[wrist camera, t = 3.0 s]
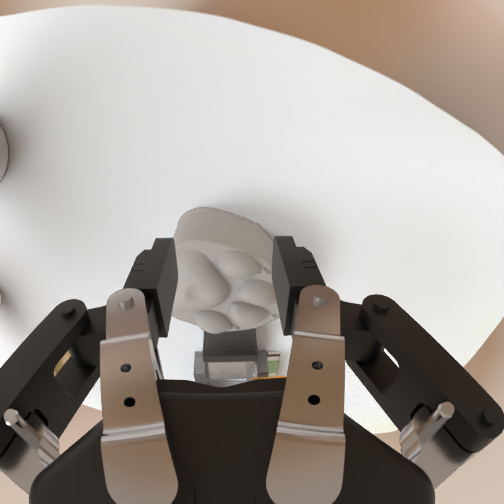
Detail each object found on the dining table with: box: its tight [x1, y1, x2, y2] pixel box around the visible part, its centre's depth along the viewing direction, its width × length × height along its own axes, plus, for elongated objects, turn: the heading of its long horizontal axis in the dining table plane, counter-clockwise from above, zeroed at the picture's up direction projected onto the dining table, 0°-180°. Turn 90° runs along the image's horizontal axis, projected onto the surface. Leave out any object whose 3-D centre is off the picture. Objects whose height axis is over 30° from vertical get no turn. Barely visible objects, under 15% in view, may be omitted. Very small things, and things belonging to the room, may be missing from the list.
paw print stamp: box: [171, 207, 280, 334], centre depth 32 cm, size 10×13×9 cm
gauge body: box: [194, 350, 280, 387], centre depth 43 cm, size 10×14×9 cm
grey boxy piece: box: [203, 328, 285, 382], centre depth 40 cm, size 9×11×6 cm
